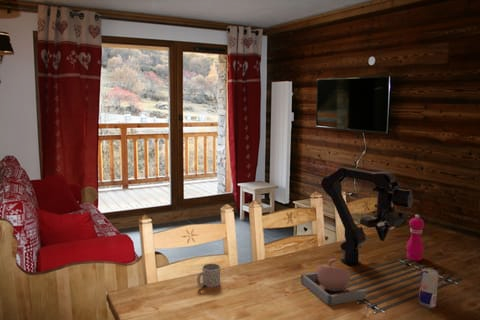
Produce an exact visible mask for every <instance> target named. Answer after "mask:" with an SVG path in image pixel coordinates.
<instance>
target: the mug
mask: <svg viewBox="0 0 480 320" xmlns="http://www.w3.org/2000/svg"><path fill="white" fill-rule="evenodd" d="M201 278H202V281H201ZM196 283H197V286H199V287H202V286H203V287H205V286H207V287H206V288H210V287H211V288H217V287H219V286H220V285H221V266H220V265H219V264H218V263H206V264H203V266H202V270H201V272H199V273H198V274H197V277H196ZM204 285H205V286H204ZM216 286H217V287H216Z"/></svg>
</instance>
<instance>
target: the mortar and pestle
mask: <svg viewBox="0 0 480 320" xmlns="http://www.w3.org/2000/svg"><path fill="white" fill-rule="evenodd" d="M336 261H337V258H332V259H329V260H328V263H327V265H318V267H317V270H316V272H317V277H318V280H319V281H318V282H319V284H320V286H322V287H323V288H324V289H326V290H327V291H330V292H340V291H343V290H344V289H346V288H347V287H348V285H349V283H350V282H351V277H352V273H351V270H349V269H344V268H341V267H335V266H332V264H333V263H334V262H336Z"/></svg>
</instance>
